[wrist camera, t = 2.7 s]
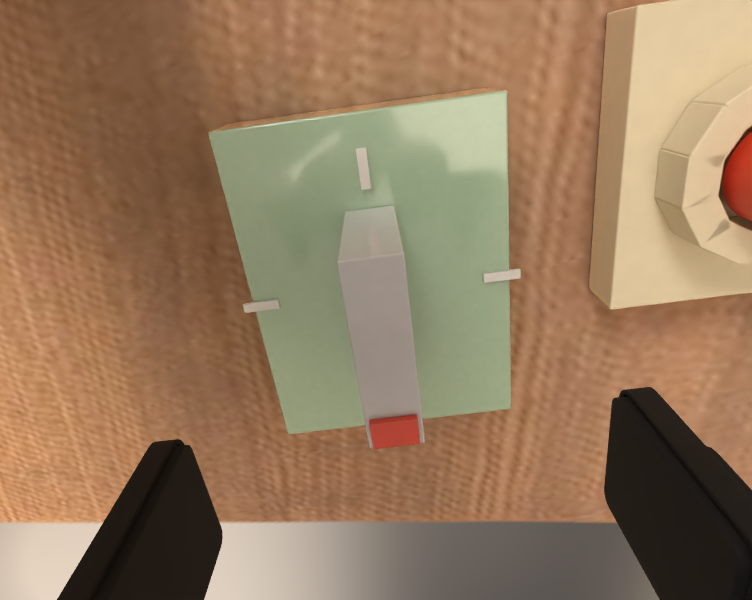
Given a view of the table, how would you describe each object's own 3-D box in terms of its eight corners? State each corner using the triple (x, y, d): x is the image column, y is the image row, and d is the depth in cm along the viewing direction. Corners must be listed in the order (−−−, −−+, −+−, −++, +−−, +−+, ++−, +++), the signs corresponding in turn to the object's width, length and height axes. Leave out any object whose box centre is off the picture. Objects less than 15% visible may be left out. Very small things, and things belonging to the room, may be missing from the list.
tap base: (221, 124, 19) (195, 134, 16) (496, 85, 18) (520, 88, 16) (289, 395, 24) (279, 438, 22) (502, 370, 24) (520, 411, 21)
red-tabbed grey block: (344, 211, 17) (335, 264, 13) (394, 205, 17) (404, 256, 13) (368, 364, 20) (369, 454, 15) (411, 359, 20) (426, 448, 15)
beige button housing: (606, 12, 17) (668, -3, 14) (863, -25, 17) (996, -50, 14) (588, 288, 22) (631, 331, 19) (789, 264, 22) (873, 302, 18)
